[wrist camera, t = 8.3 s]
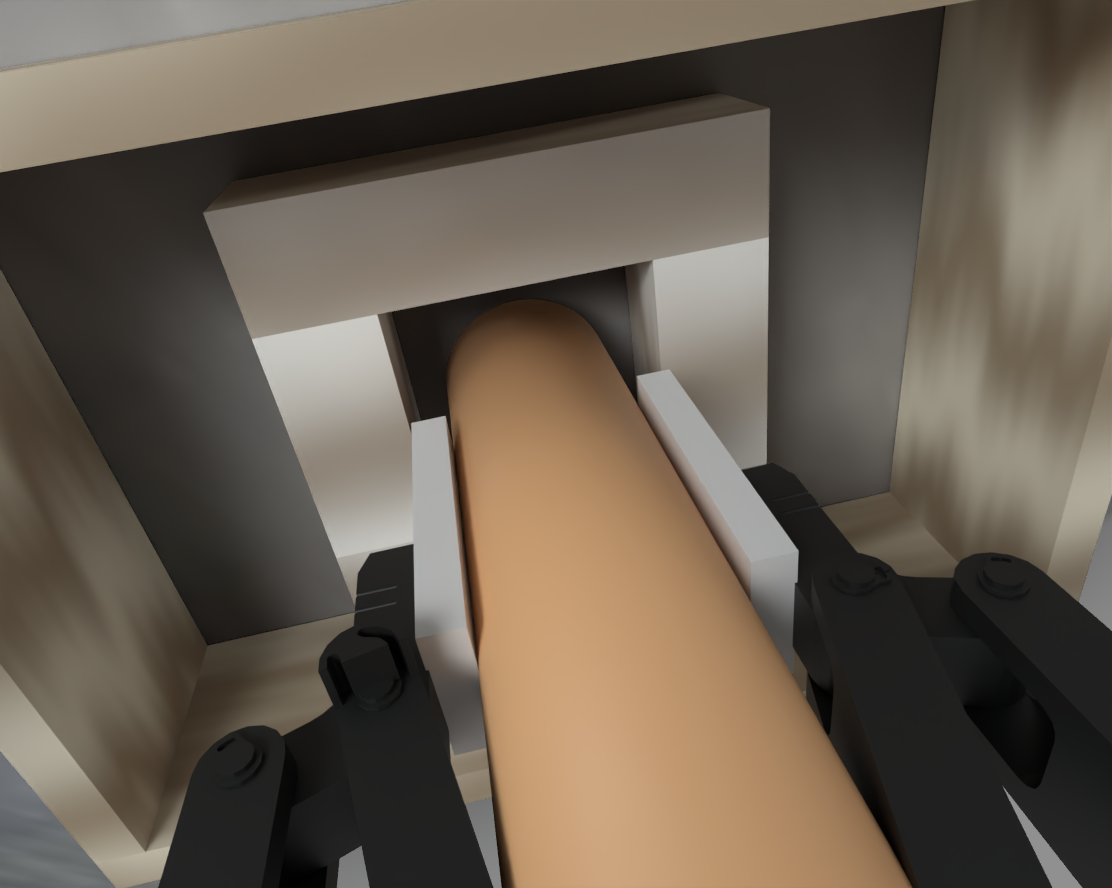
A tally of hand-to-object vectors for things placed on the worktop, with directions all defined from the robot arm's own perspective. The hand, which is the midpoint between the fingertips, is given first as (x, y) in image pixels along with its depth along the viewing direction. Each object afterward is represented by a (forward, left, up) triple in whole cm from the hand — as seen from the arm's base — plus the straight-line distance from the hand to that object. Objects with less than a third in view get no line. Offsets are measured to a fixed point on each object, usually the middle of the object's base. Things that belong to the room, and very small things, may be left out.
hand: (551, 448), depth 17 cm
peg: (0, 0, -4) cm, 4 cm away
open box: (0, 0, -5) cm, 5 cm away
